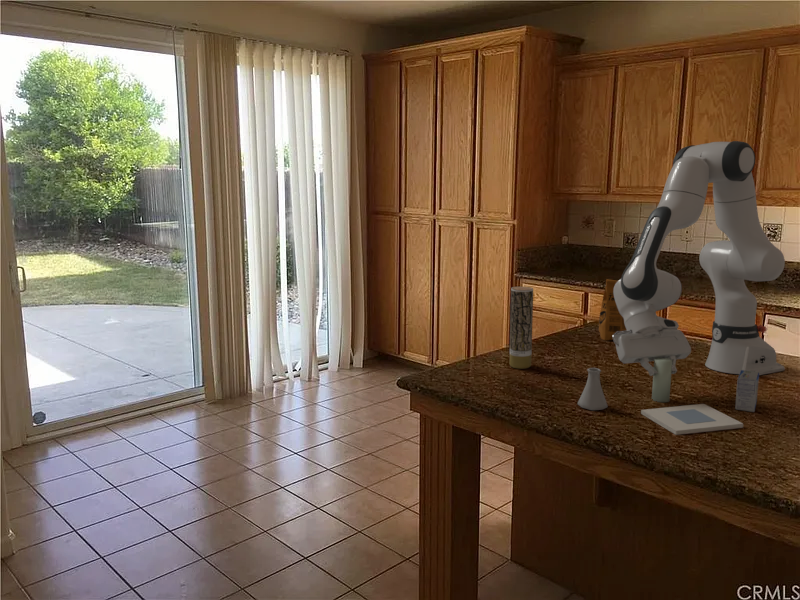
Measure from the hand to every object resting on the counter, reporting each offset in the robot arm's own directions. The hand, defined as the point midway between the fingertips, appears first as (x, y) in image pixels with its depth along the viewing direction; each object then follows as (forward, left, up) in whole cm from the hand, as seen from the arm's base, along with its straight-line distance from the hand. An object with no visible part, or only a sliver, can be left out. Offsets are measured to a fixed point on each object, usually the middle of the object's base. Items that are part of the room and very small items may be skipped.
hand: (663, 373), depth 172 cm
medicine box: (-18, +9, -8) cm, 22 cm away
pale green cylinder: (0, -1, -7) cm, 7 cm away
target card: (+2, +14, -7) cm, 16 cm away
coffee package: (-24, -63, -8) cm, 68 cm away
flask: (+20, -1, -8) cm, 21 cm away
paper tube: (+24, -39, -8) cm, 46 cm away
